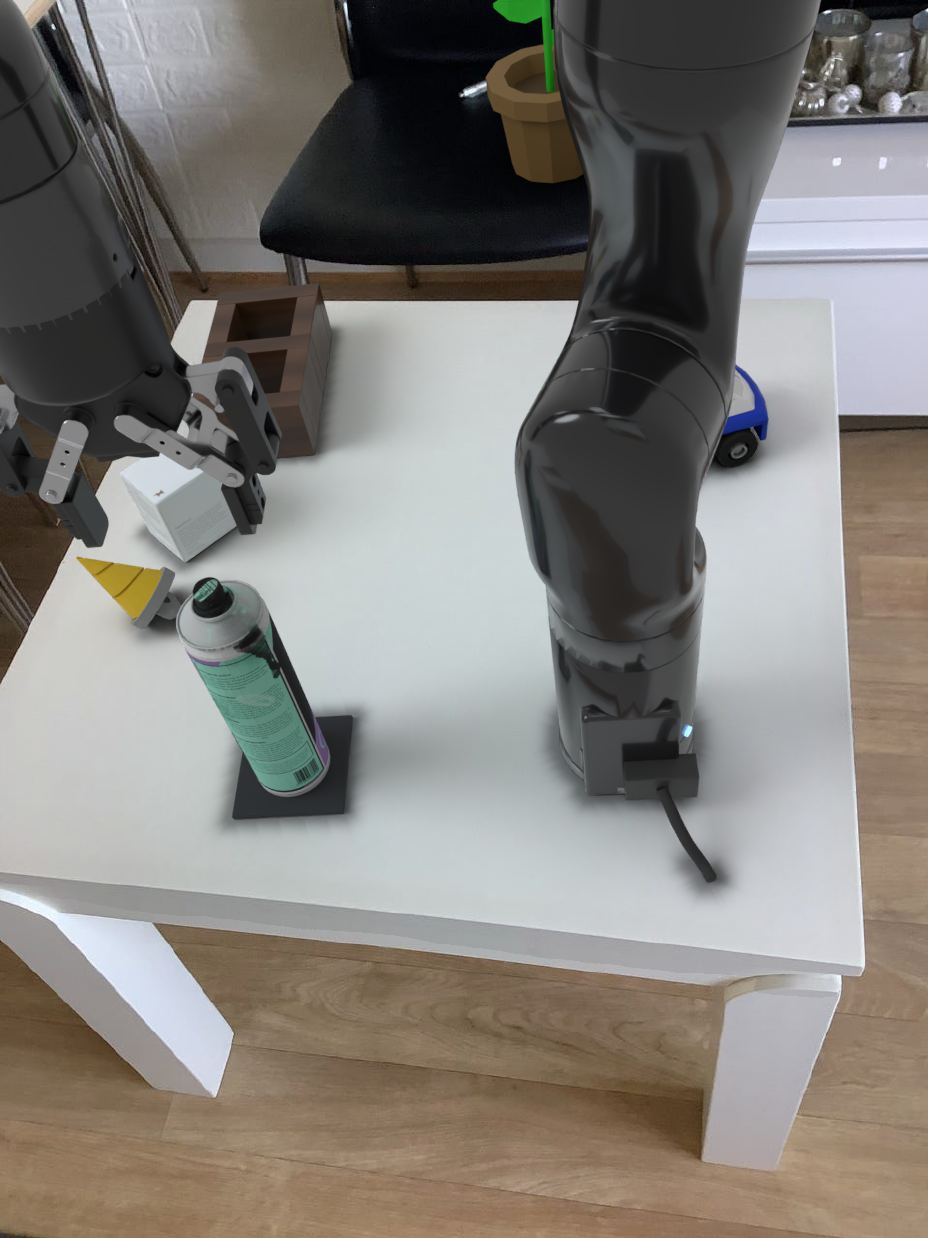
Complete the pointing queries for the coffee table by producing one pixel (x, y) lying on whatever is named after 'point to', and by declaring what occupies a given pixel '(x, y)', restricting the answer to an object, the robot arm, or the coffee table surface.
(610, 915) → the coffee table surface
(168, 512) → the product box
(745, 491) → the coffee table surface
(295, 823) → the coffee table surface
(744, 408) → the toy car
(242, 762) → the tool mat
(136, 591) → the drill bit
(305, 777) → the spray can
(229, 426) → the can holder
